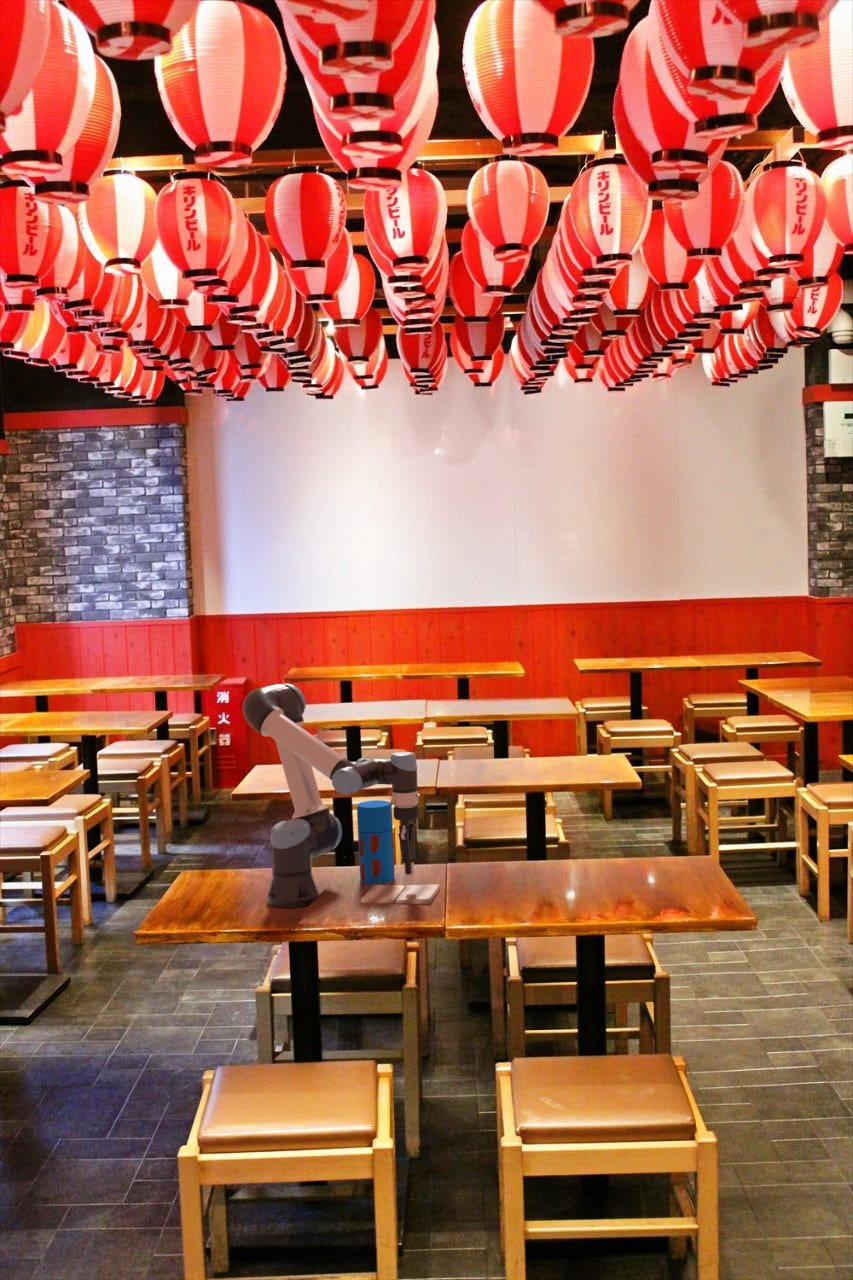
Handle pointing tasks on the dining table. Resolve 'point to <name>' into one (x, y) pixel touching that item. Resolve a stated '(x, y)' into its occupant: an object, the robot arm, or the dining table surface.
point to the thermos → (375, 841)
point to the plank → (418, 894)
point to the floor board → (382, 894)
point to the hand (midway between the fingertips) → (410, 883)
